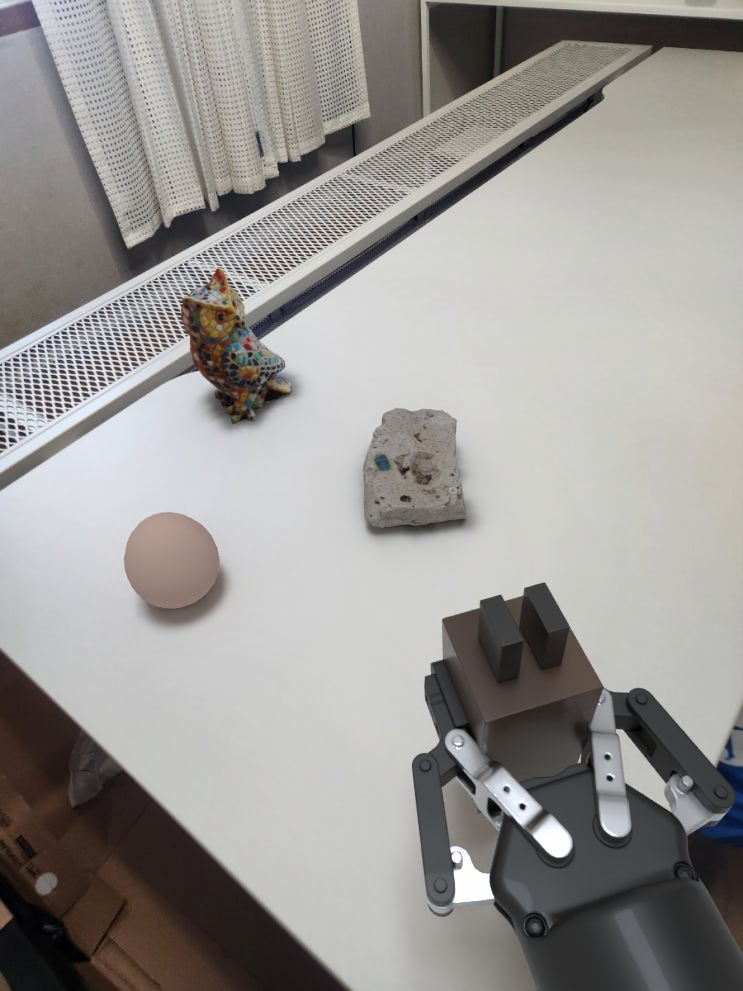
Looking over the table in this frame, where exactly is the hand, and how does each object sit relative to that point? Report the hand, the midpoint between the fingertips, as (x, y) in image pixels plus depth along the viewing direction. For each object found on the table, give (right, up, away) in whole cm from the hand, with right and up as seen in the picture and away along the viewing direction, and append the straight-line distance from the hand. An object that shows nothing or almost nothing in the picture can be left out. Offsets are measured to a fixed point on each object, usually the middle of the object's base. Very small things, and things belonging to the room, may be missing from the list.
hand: (492, 653), depth 35 cm
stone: (-2, +9, +28) cm, 29 cm away
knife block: (+1, -6, +3) cm, 7 cm away
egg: (-22, 0, +21) cm, 31 cm away
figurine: (-19, +18, +38) cm, 47 cm away
